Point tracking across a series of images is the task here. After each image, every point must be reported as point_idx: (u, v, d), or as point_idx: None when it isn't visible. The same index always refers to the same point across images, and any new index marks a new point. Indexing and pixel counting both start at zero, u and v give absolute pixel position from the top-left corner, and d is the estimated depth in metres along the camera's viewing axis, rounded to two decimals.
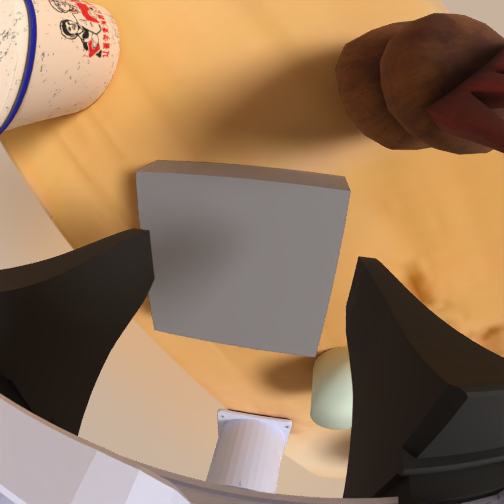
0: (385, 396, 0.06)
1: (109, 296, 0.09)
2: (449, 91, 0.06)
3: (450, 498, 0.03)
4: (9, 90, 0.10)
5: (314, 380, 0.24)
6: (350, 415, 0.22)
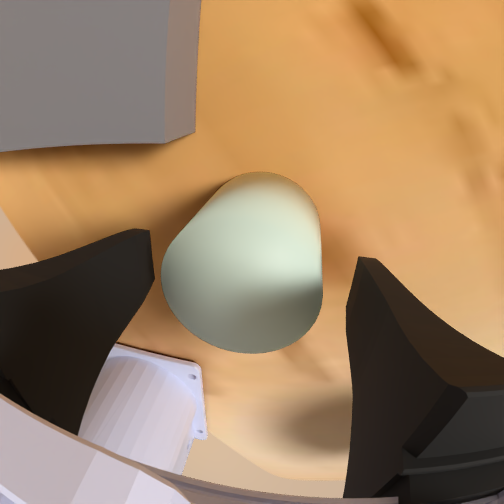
0: (385, 396, 0.06)
1: (109, 296, 0.09)
2: None
3: (450, 498, 0.03)
4: None
5: None
6: (259, 303, 0.10)
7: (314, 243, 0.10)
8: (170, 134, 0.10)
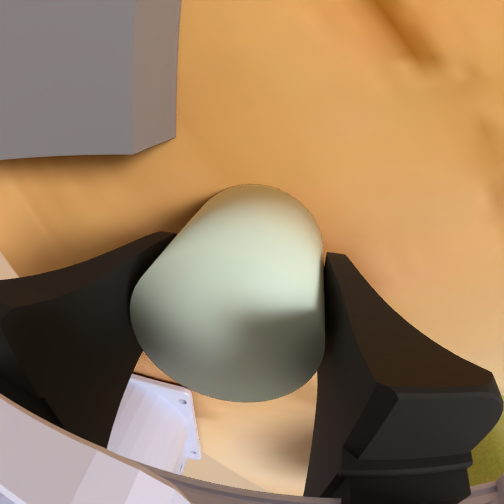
0: (336, 393, 0.06)
1: None
2: None
3: None
4: None
5: None
6: (248, 353, 0.08)
7: (316, 280, 0.08)
8: (141, 142, 0.08)
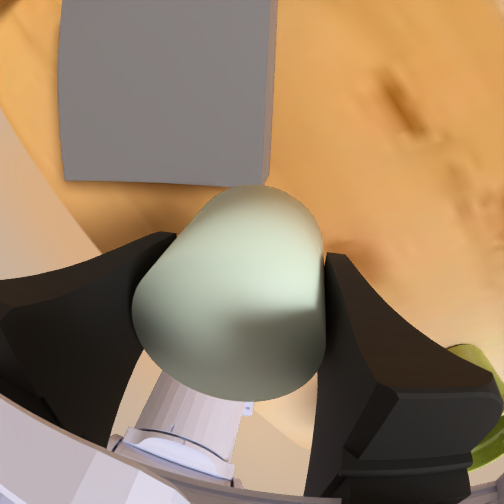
0: (336, 393, 0.06)
1: None
2: None
3: None
4: None
5: None
6: (249, 352, 0.08)
7: (316, 279, 0.08)
8: (262, 182, 0.16)
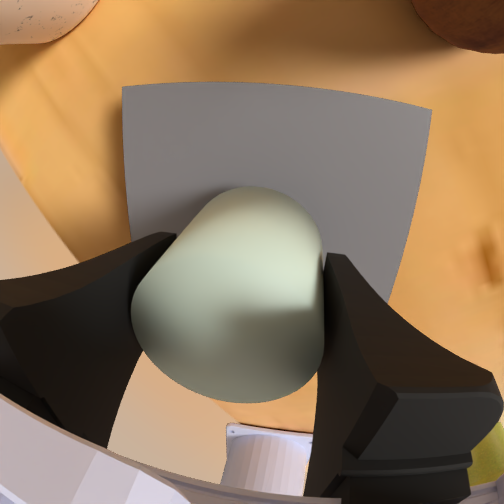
0: (336, 393, 0.06)
1: None
2: None
3: None
4: None
5: None
6: (248, 353, 0.08)
7: (312, 278, 0.08)
8: None
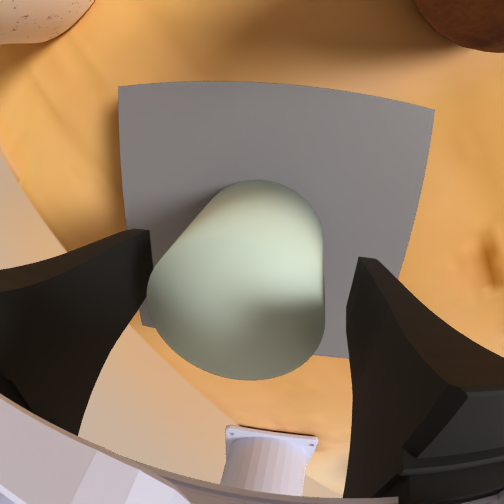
0: (385, 396, 0.06)
1: (109, 296, 0.09)
2: None
3: (450, 498, 0.03)
4: None
5: None
6: (255, 329, 0.09)
7: (314, 260, 0.09)
8: None
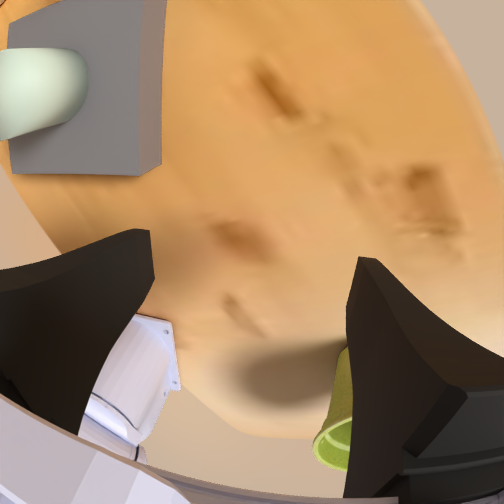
0: (385, 396, 0.06)
1: (109, 296, 0.09)
2: None
3: (450, 498, 0.03)
4: None
5: None
6: (7, 96, 0.11)
7: (39, 58, 0.11)
8: (143, 169, 0.18)
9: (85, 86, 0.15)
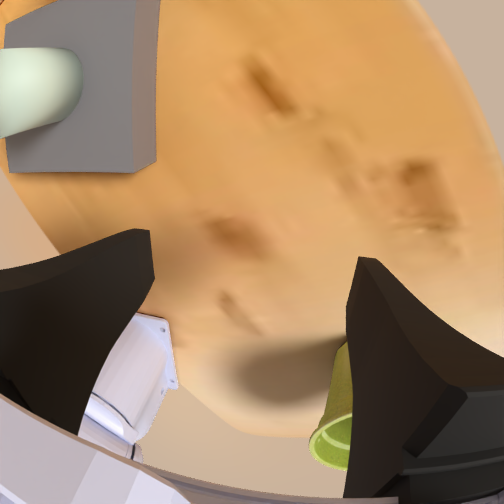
0: (385, 396, 0.06)
1: (109, 296, 0.09)
2: None
3: (450, 498, 0.03)
4: None
5: None
6: (3, 95, 0.11)
7: (33, 57, 0.11)
8: (137, 167, 0.18)
9: (80, 85, 0.15)
